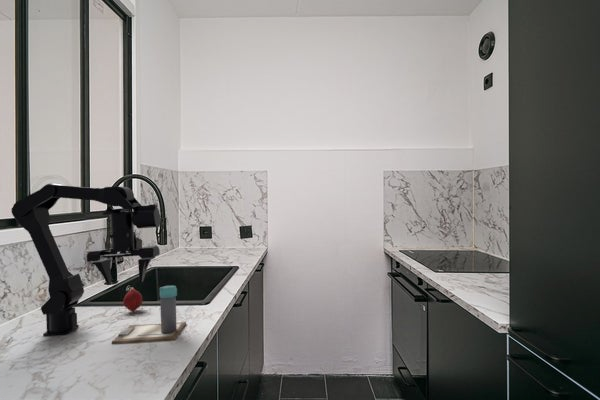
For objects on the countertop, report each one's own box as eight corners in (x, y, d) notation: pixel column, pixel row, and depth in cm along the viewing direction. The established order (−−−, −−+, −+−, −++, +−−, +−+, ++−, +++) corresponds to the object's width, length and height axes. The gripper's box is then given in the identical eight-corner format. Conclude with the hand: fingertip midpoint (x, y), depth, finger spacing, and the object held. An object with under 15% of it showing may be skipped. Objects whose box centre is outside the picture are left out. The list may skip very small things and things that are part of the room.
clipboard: (111, 343, 92) (111, 339, 92) (130, 327, 104) (129, 323, 104) (175, 340, 93) (175, 335, 93) (186, 324, 105) (186, 320, 105)
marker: (161, 334, 95) (160, 289, 95) (160, 330, 99) (159, 286, 99) (178, 331, 97) (177, 287, 97) (176, 327, 101) (175, 284, 101)
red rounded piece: (146, 309, 121) (145, 286, 121) (132, 315, 115) (131, 290, 115) (134, 308, 123) (133, 285, 123) (119, 313, 118) (119, 289, 118)
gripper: (164, 225, 112) (167, 275, 112) (103, 229, 111) (106, 279, 111) (151, 228, 101) (154, 283, 101) (83, 232, 100) (87, 287, 100)
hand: (125, 283), depth 103 cm, fingers open, 9 cm apart
